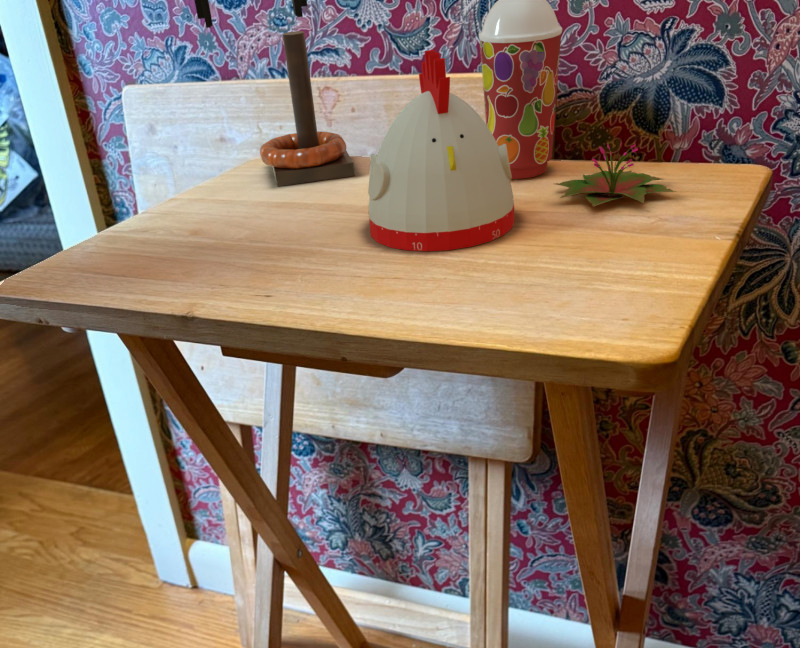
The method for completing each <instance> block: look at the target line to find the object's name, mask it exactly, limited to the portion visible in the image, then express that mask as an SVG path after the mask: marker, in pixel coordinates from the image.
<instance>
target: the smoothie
mask: <svg viewBox="0 0 800 648" xmlns="http://www.w3.org/2000/svg"><path fill="white" fill-rule="evenodd" d="M552 7H553V6H552V5H551V4H550V3H549V2H548V1H547V0H496V2H495V3H493V5H492V6H491V7H490V9H489V11H488V13H487V15H486V17H485V19H484V22H483V25H482V29H481V30H480V32H479V33H478V34H477V35H478V39H479V50H480V51H479V52H480V63H481V64H480V65H481V75H482V88H483V100H484V101H483V102H484V113H485V124H486V125H487V127H488V128H489V130H490V131H491V133H492V135H493V137H494V138H495V140H496V142H497V144H498V146H501V145H503V144H506V146H507V153H508V159H509V165H510V170H511V176H512V178H511V179H510V180H524V179H531V178H535V177H538V176H540V175H543V174H544V173H546V171H547V169H548V162H550V161H551V160H552V158H553V146H554V132H555V121H556V106H557V93H558V81H559V70H560V69H559V68H560V57H561V56H560V55H561V54H560V53H561V42H562V33H563V27H562V26H561V25H559V21H558V18H557V16H556V13H555V11H554V9H553V8H552Z"/></svg>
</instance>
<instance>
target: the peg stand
mask: <svg viewBox="0 0 800 648" xmlns="http://www.w3.org/2000/svg"><path fill="white" fill-rule="evenodd" d="M282 41H283V42H282V43H283V47H284V55H285V56H284V57H285V61H286V68H287V76H288V84H289V89H290V97H291V105H292V109H293V110H292V112H293V118H294V126H295V133H297V140H298V147H299V149H304V148H311V147H316V146H319V141H318V134H317V132H318V126H317V119H316V118H317V117H316V112H315V104H314V97H313V96H314V95H313V89H312V81H311V80H312V79H311V73H310V65H309V57H308V49H307V42H306V35H305V31H302V30H298V31H297V30H296V31H287V32H284V33H282ZM271 169H272V172H273V175H274V180H275V183H276V187H285V186H291V185H299V184H306V183H314V182H321V181H327V180H335V179H341V178H348V177H355V176H356V175H355V165H354V162H353V160H352V158H351V156H350V154H349V152H348V150H346V152H345V153H344V154H343V155H342V156H341V157H339V158H338V159H337V160H335V161H332V162H329V163H326V164H323V165H319V166H314V167H306V168H299V169H281V168H276V167H272V166H271Z"/></svg>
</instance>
